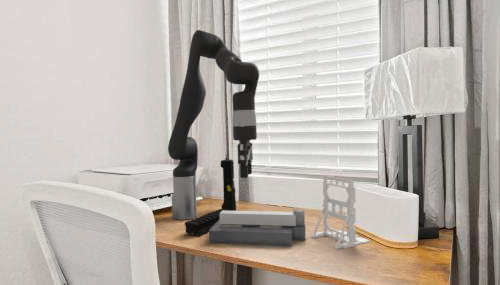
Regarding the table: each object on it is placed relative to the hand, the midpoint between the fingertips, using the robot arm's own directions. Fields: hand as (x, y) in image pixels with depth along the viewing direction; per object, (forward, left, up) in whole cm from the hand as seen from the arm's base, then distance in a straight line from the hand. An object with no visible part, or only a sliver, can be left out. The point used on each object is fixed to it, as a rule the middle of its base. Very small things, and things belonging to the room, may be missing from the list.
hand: (246, 175), depth 106 cm
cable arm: (+4, +4, -16) cm, 17 cm away
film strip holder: (+29, +4, -21) cm, 36 cm away
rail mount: (-17, +12, -21) cm, 30 cm away
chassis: (+3, +4, -21) cm, 21 cm away
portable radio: (-15, +37, -21) cm, 45 cm away
